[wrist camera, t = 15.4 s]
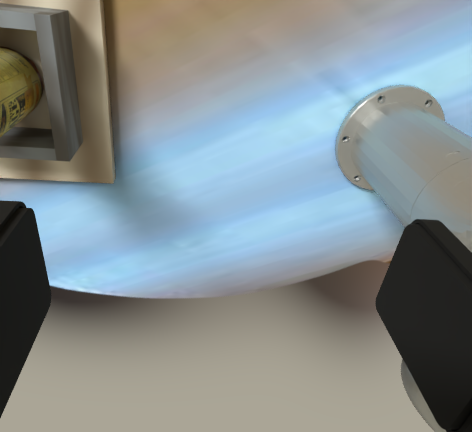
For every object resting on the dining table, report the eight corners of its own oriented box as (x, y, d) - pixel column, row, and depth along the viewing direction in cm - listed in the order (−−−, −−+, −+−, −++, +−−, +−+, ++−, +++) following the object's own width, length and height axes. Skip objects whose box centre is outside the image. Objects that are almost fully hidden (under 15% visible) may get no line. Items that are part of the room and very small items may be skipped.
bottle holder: (99, -51, 33) (80, -55, 27) (115, 177, 44) (104, 206, 39) (-119, -78, 31) (-187, -90, 25) (-42, 169, 42) (-78, 198, 37)
